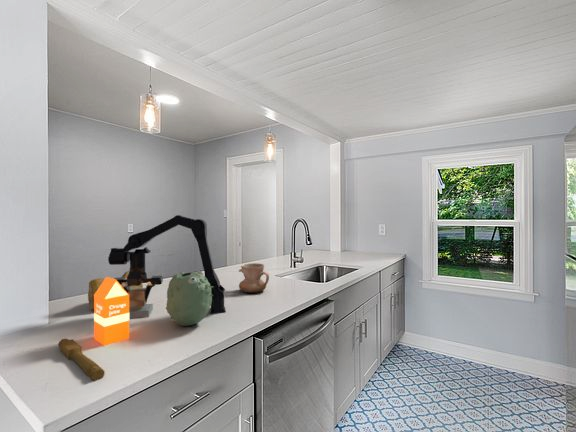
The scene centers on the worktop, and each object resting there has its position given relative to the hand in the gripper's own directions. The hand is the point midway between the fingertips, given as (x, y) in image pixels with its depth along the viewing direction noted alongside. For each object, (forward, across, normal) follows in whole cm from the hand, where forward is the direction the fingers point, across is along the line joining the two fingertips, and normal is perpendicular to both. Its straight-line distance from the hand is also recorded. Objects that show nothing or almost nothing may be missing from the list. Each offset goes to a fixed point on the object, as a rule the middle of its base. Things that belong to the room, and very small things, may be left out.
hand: (137, 301), depth 126 cm
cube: (+1, 0, 0) cm, 1 cm away
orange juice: (+5, -3, -25) cm, 26 cm away
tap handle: (+6, -7, -40) cm, 41 cm away
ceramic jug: (+5, +52, +25) cm, 58 cm away
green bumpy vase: (+5, +21, -18) cm, 28 cm away
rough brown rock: (+5, -14, +18) cm, 23 cm away
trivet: (+5, 0, 0) cm, 5 cm away
